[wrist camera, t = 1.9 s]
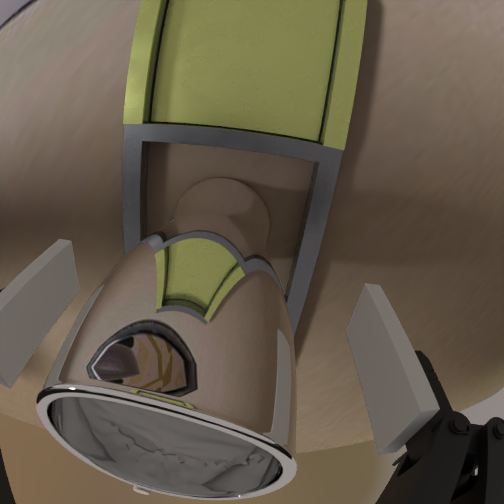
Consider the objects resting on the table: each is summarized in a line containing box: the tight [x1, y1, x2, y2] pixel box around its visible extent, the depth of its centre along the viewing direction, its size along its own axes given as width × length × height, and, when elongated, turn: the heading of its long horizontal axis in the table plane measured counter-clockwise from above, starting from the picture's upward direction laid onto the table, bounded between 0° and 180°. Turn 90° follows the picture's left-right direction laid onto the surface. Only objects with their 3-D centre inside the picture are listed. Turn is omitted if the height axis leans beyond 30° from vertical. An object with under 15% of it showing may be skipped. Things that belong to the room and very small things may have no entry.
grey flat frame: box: [122, 0, 367, 338], centre depth 18 cm, size 12×34×1 cm, turn 172°
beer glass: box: [36, 178, 297, 500], centre depth 12 cm, size 7×7×15 cm
